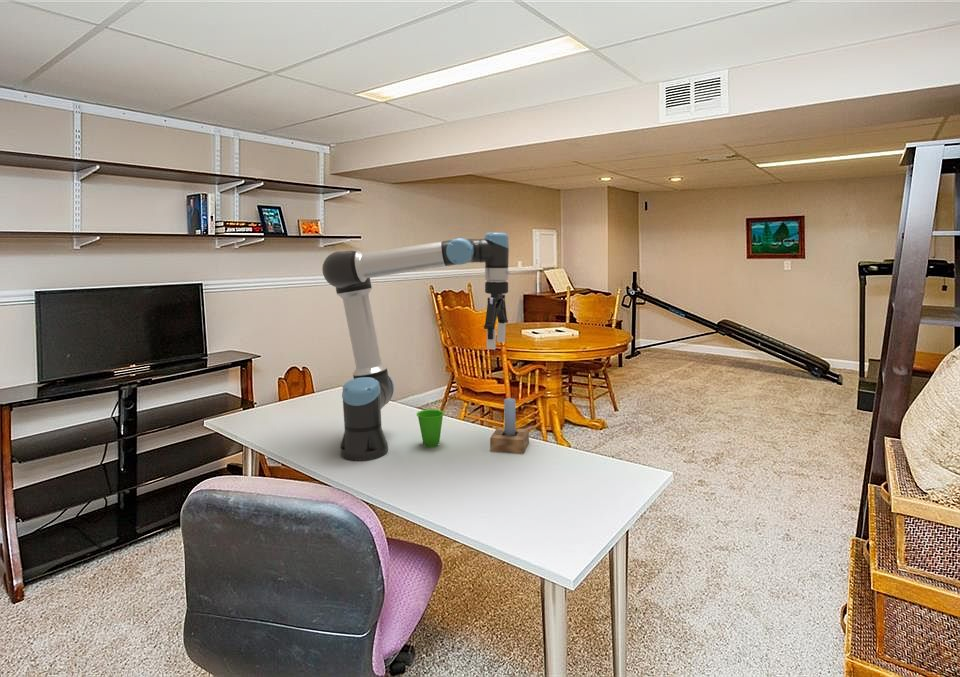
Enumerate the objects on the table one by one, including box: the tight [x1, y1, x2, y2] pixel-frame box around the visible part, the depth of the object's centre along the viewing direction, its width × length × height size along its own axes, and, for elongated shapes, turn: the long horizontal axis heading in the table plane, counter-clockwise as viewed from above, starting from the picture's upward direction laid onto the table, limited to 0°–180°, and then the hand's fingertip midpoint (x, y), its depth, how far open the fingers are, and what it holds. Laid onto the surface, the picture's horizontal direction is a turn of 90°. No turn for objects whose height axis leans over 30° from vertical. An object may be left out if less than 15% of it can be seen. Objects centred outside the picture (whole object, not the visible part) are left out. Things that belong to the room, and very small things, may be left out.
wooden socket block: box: [489, 426, 530, 455], centre depth 182 cm, size 11×11×4 cm
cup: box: [416, 408, 445, 448], centre depth 184 cm, size 9×9×11 cm
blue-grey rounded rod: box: [503, 397, 516, 436], centre depth 181 cm, size 4×4×16 cm
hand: (496, 345), depth 183 cm, fingers open, 13 cm apart
